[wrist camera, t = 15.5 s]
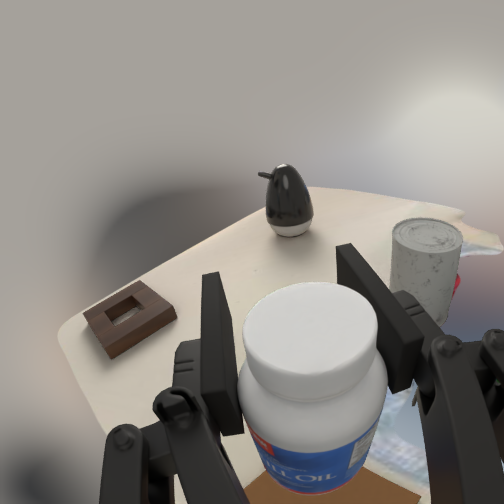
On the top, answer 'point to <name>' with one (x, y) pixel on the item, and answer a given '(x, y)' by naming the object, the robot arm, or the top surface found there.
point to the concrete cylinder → (426, 263)
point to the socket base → (136, 327)
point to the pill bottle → (312, 384)
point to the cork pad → (333, 492)
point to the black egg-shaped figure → (287, 201)
